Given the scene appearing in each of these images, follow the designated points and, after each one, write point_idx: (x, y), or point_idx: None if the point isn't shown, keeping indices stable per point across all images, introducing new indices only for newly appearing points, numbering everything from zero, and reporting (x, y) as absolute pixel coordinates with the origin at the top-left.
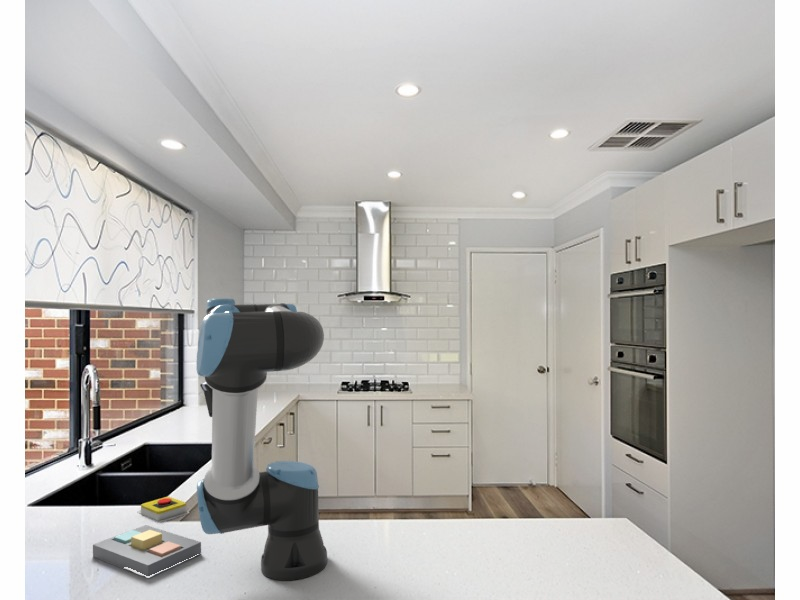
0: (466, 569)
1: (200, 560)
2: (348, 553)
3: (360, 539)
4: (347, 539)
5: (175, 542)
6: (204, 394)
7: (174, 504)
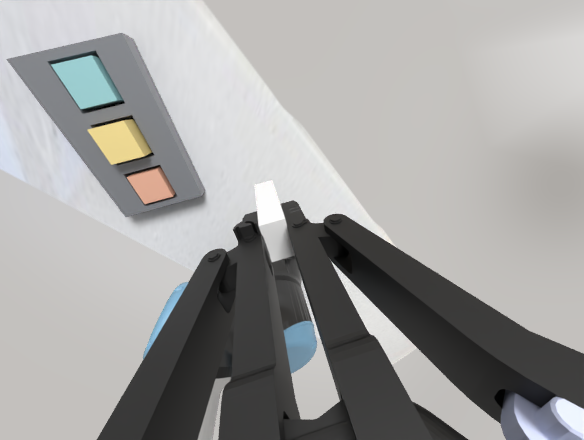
0: None
1: (200, 204)
2: None
3: None
4: None
5: (169, 172)
6: (102, 432)
7: None
